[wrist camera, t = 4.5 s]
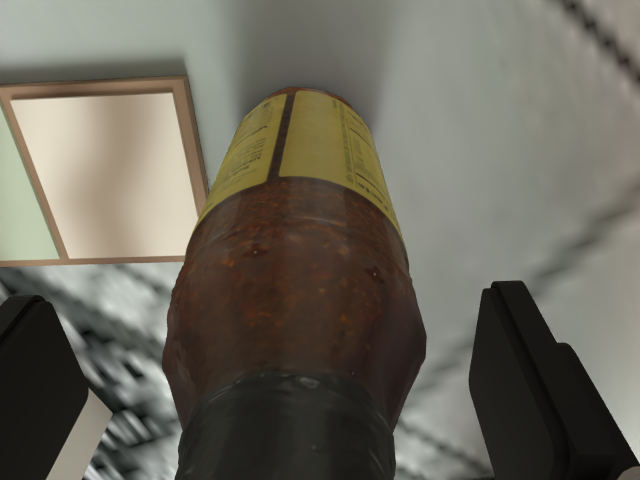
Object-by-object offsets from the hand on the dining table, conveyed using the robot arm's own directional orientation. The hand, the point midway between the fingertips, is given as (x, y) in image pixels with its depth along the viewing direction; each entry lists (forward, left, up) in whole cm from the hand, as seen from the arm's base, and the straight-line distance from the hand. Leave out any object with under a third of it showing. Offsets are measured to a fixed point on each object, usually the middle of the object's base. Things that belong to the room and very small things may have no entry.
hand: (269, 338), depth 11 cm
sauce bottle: (0, +1, -13) cm, 13 cm away
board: (+16, +2, -13) cm, 21 cm away
